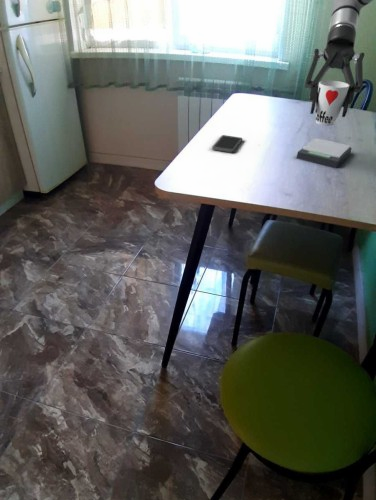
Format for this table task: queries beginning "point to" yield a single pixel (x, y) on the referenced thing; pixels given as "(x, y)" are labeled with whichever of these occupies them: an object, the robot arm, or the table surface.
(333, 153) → the scale
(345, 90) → the cup
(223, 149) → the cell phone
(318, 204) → the table surface
